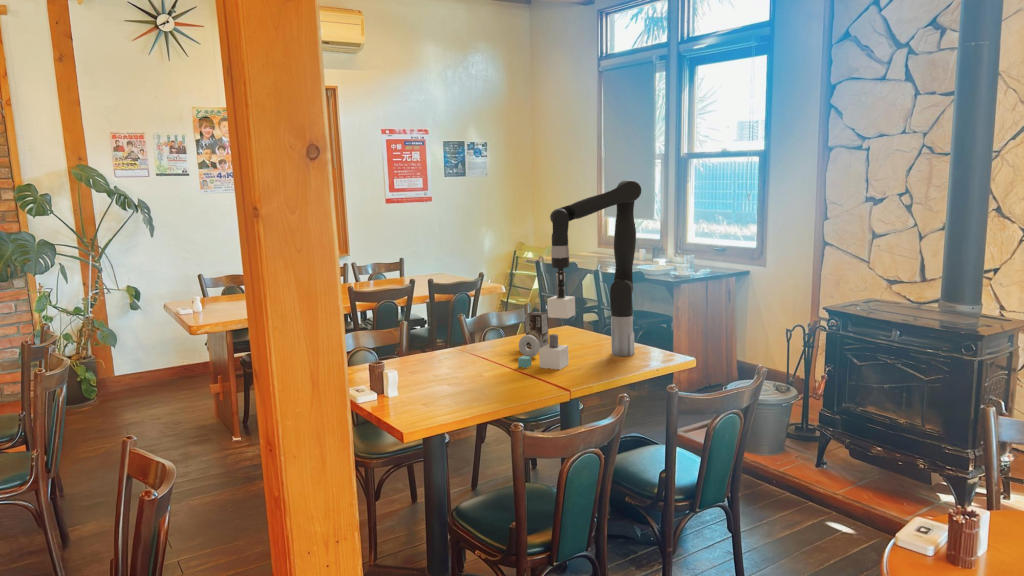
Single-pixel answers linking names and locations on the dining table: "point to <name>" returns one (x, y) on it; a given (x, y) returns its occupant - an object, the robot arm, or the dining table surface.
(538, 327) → the grey mechanical block
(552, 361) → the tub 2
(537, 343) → the donut
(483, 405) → the dining table surface
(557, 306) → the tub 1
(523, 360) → the cube
